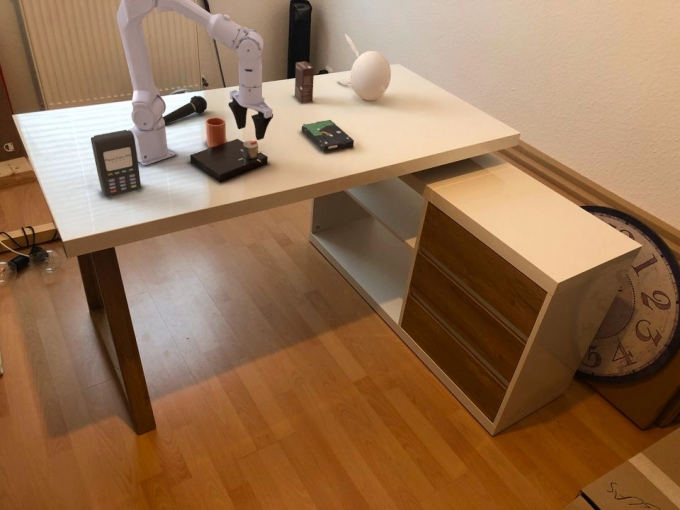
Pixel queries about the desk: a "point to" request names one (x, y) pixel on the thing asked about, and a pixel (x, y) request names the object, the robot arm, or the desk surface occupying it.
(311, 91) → the box
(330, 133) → the disk drive
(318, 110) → the desk surface
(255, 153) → the dial
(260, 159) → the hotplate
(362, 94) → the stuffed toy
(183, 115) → the microphone
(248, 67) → the robot arm
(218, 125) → the cup
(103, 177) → the card reader
